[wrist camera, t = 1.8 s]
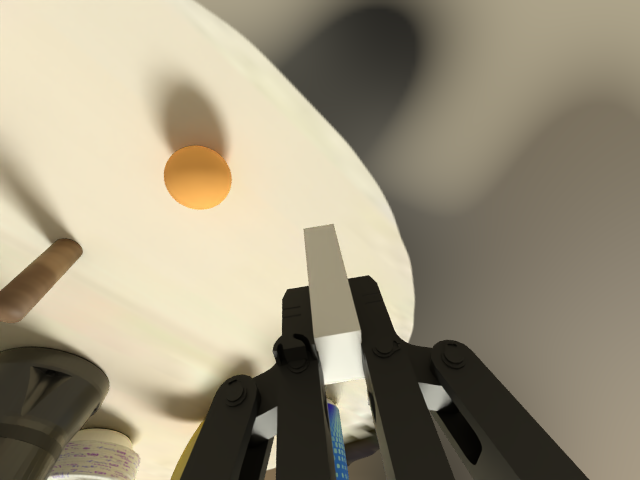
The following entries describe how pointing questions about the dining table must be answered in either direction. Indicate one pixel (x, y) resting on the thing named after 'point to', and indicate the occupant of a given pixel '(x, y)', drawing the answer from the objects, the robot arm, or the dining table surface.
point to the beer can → (337, 442)
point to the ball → (197, 177)
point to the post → (37, 280)
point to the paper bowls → (97, 457)
